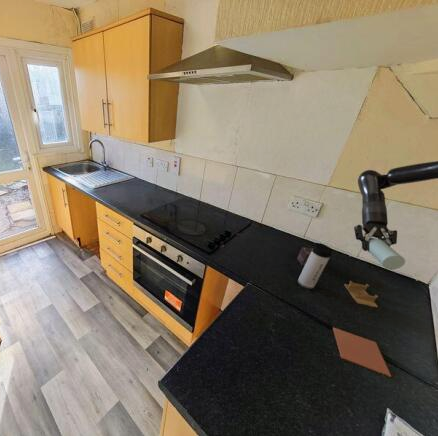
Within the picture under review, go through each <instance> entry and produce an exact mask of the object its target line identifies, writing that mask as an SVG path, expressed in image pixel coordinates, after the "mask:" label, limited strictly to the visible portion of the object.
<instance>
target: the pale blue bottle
mask: <svg viewBox="0 0 438 436" xmlns="http://www.w3.org/2000/svg"><path fill="white" fill-rule="evenodd" d="M368 241H369V250H368V251H367V252H368V253H369V254H371V256H372V257H373V258H374V259H375V260H377V261H378V263H379V264H380V265H382V267H383V268H385V269H386V270H397V269H401V268H402V267H403V266H404V265H405V264H406V259H405V258H404V256H402V255H401V254H399V253H398V252H397V251H396V250H395V249H393V248H392V247H391V245H390V246H388V245H387V244H386V243H385V242H384V241H382V240H380V239H378V238H375V237H370V239H369V240H368Z"/></svg>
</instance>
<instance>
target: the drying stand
mask: <svg viewBox="0 0 438 436" xmlns="http://www.w3.org/2000/svg"><path fill="white" fill-rule="evenodd" d="M343 285H344V287H345V288H346V290H347V291H348V292H349V294H350V295H351V297H352V298H353V300H354V301H355V302H356V303H357V304H360V305H364V306H368V307H372V308H373V307H374V308H378V307H379V306H378V305H377V303H376V302H375V301H377V299H378V298H379V295H377V294H374V295H371V294H369V293H368V292H367V289H368V288H369V287H370V284H368V283H366V284H360V283H356V282H353V281H352V280H349V284H348V283H344V284H343Z"/></svg>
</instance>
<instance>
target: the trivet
mask: <svg viewBox="0 0 438 436" xmlns="http://www.w3.org/2000/svg"><path fill="white" fill-rule="evenodd" d="M332 332H333V334H334V338H335V342H336V345H337V348H338V352H339V355H340V358H341V359H342V360H345V361H348V362H351V363H353V364H355V365H358V366H361V367H363V368H365V369H369V370H371V371H373V372H377V373H379V374H381V373H382V374H381V375H384V374H385V375H384V376H386V375H387V376H386V377H388V378H391V377H392V375H391V372H390V370H389V368H388V366H387V363H386V361H385V359H384V357H383V354H382V353H381V351H380V348H379V346H378V344H377V342H376V341H373V340H371V339H367V338H365V337H362V336H360V335H356V334H353V333H350V332H347V331H345V330H342V329H339V328H336V327H334V326H333V327H332Z"/></svg>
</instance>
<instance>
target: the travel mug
mask: <svg viewBox="0 0 438 436" xmlns="http://www.w3.org/2000/svg"><path fill="white" fill-rule="evenodd" d="M312 249H313V250H312V252H311V254H310V256H309V258H308V260H307V262H306V264H305V266H303V268H302V271H301V273H300V274H299V277H298V279H297V282H298V284H299V285H300V286H301V287H303V288H306V289H310V290H311V289H314V288H315V286H316V285H317V283H318V281H319V279H320V277H321V275H322V274H323V271H324V269H325V268H326V267H327V266H326V265H327V264H328V262H329V260H330V258H331V255H332V254H333V250H332V248H331V247H329V246H328V245H326V244H324V243H321V242H314V243H313V248H312Z"/></svg>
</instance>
